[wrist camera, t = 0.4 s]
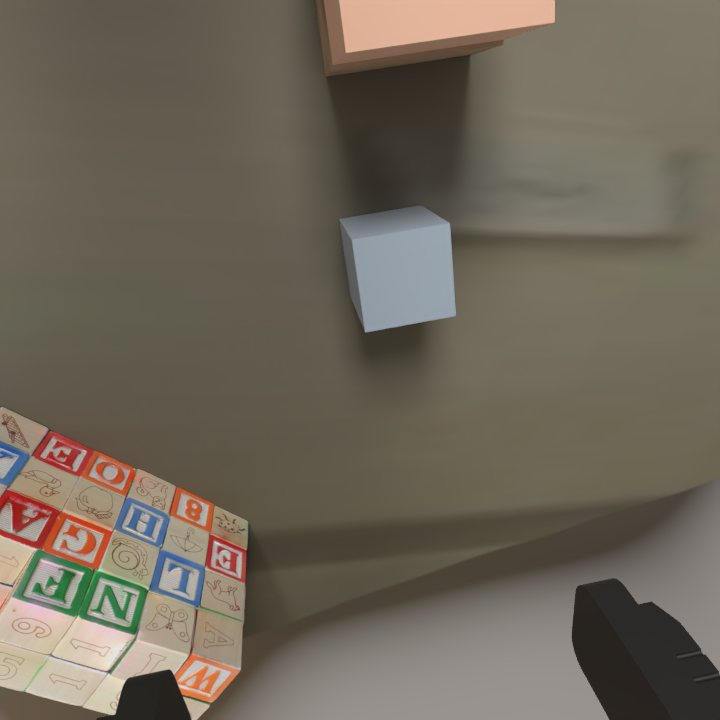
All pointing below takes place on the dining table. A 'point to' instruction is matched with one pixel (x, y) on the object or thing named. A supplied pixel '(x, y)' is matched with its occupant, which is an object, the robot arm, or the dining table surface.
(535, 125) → the dining table surface
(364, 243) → the slate block
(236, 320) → the dining table surface
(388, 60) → the tower base
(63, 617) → the stack of blocks
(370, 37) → the tower top
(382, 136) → the dining table surface
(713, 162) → the dining table surface
